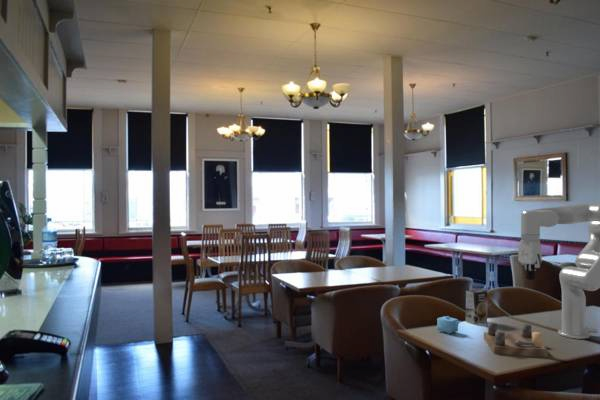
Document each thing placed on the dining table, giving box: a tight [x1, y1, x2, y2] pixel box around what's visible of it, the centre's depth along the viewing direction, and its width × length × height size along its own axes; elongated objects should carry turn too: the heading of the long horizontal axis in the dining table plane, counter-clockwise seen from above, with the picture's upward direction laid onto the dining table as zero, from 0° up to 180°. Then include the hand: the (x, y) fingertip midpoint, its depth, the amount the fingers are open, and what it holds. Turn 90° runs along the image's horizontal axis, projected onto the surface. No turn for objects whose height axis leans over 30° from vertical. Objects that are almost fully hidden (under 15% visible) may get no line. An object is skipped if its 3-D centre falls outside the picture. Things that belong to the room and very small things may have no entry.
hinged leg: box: [515, 331, 543, 347], centre depth 183 cm, size 10×4×5 cm, turn 76°
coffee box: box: [465, 289, 488, 325], centre depth 230 cm, size 9×6×16 cm
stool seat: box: [483, 321, 549, 358], centre depth 191 cm, size 20×20×8 cm
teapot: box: [436, 315, 462, 335], centre depth 212 cm, size 12×6×8 cm, turn 41°
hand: (530, 279), depth 201 cm, fingers closed
